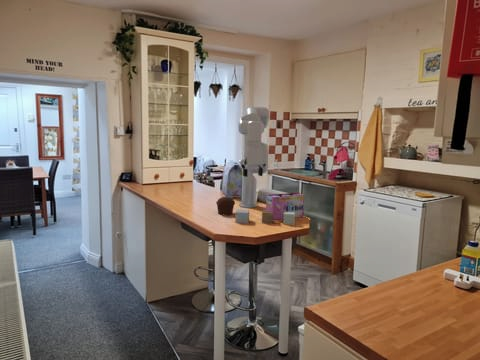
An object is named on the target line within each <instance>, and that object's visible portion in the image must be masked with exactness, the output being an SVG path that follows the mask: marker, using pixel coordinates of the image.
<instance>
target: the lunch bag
mask: <svg viewBox="0 0 480 360" xmlns="http://www.w3.org/2000/svg"><path fill="white" fill-rule="evenodd" d="M238 163H239V161H236V160H234V159H231V160H229V161H228V162H227V163H226V165H225V166H224V167H223V171H222V186H221V192H222V193H223V194H224V195H225V197H230V198H232V199H233V198H238V199H239V198H241V199H242V167H241V166H240V163H239V164H238Z"/></svg>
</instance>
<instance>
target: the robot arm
mask: <svg viewBox="0 0 480 360" xmlns="http://www.w3.org/2000/svg"><path fill="white" fill-rule="evenodd" d="M269 121H270V110H269V108H267V107H266V106H265V107H264V106H249V107H248V108H247V109H246V111H245V115H242V116H241V117H240V118H239V119H238V125H237V126H238V128H237V129H238V132H239V134H241V135H244V136H243V137H244V139H243V143H244V144H243V157H242V158H241V159H240V160H239V161H238V163H239V165H240V166H241V168H242V198H241V202H240V203H239V204H238V206H239V207H242V208H247V209H250V208H251V209H253V208H257V207H259V205H258V204H259V203H257V178H256V176H255V175H254V174H258V176H259V177H263V175H264V174H267V172H268V169H269V145H268V144H267V143H266V142H262V135H263V133H264V132H265V129H266V128H267V127H268V125H269Z"/></svg>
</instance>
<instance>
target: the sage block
mask: <svg viewBox="0 0 480 360" xmlns="http://www.w3.org/2000/svg"><path fill="white" fill-rule="evenodd" d="M282 220H283V221H282V223H283V225H285V226H286V225H287V226H295V222H296V221H295V220H296V218H295V212H286V211H284V219H282Z"/></svg>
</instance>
